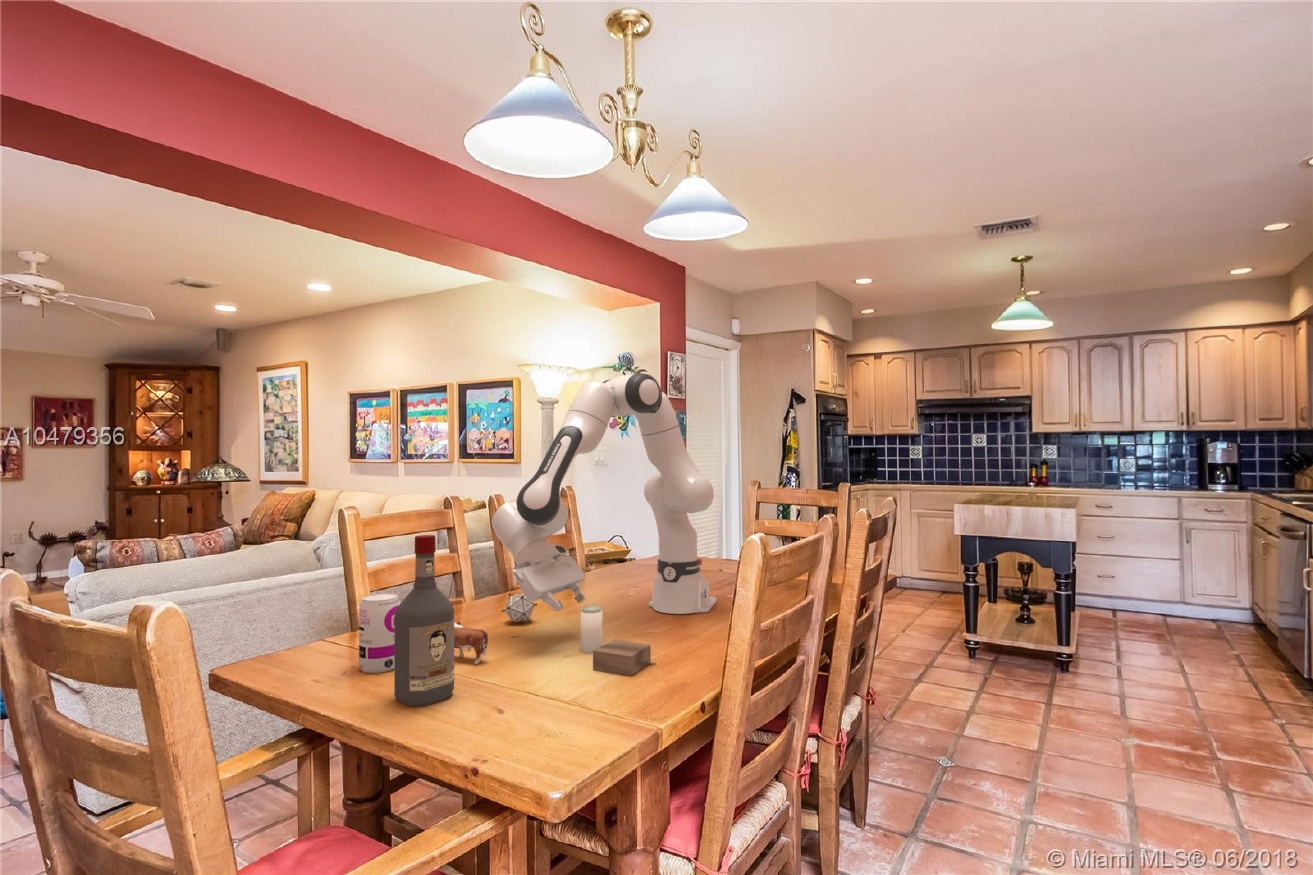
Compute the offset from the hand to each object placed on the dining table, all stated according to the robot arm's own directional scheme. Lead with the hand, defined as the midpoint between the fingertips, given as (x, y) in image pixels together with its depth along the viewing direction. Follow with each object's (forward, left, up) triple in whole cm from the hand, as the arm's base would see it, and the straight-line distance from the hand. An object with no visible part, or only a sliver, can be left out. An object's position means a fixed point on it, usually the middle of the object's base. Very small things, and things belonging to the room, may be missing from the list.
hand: (571, 605), depth 154 cm
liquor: (+38, -8, -10) cm, 40 cm away
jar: (0, +5, -10) cm, 11 cm away
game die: (-12, -25, -10) cm, 29 cm away
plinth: (+7, +17, -10) cm, 21 cm away
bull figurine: (+18, -17, -10) cm, 26 cm away
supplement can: (+30, -29, -10) cm, 43 cm away
